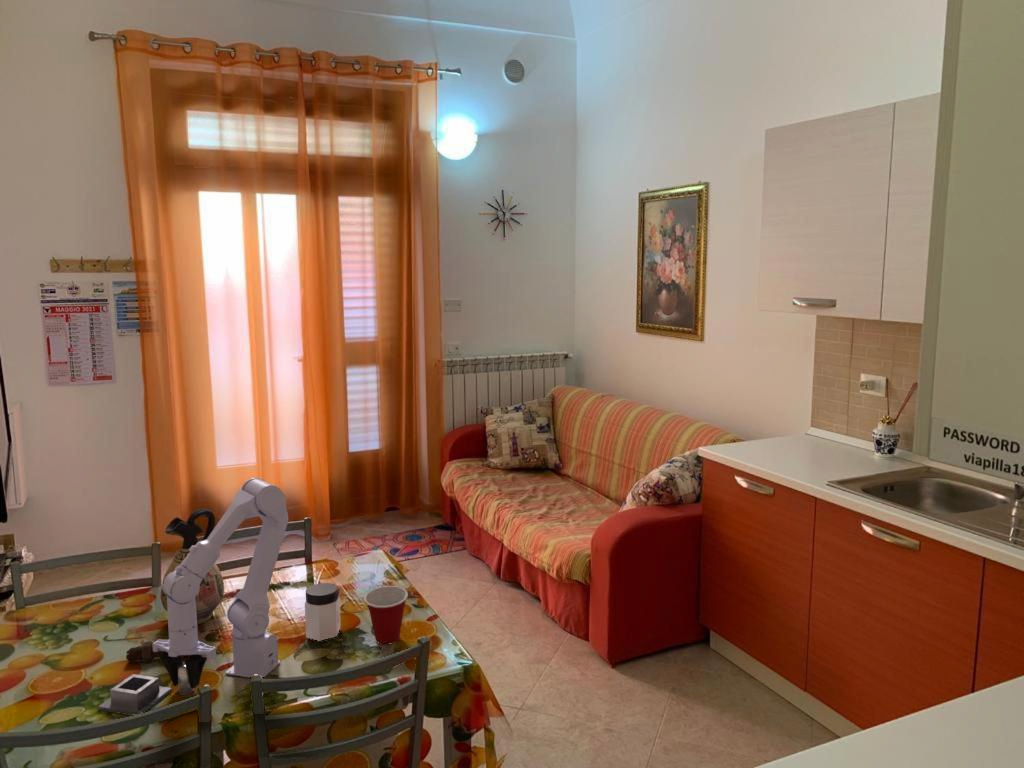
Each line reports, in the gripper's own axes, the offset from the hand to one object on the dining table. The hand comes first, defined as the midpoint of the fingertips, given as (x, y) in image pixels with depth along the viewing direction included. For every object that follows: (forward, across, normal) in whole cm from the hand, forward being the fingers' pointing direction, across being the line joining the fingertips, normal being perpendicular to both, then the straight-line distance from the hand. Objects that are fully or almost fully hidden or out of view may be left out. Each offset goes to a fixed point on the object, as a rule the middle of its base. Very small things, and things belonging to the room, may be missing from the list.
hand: (186, 684), depth 165 cm
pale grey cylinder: (+1, 0, 0) cm, 1 cm away
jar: (+2, +16, +32) cm, 36 cm away
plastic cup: (+2, +33, +33) cm, 47 cm away
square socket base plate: (+1, -8, -6) cm, 10 cm away
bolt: (+2, -15, +11) cm, 19 cm away
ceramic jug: (+2, -21, +32) cm, 38 cm away
